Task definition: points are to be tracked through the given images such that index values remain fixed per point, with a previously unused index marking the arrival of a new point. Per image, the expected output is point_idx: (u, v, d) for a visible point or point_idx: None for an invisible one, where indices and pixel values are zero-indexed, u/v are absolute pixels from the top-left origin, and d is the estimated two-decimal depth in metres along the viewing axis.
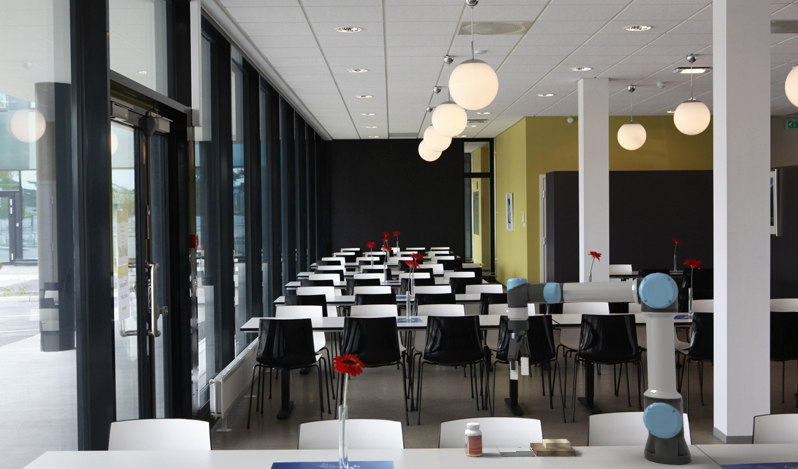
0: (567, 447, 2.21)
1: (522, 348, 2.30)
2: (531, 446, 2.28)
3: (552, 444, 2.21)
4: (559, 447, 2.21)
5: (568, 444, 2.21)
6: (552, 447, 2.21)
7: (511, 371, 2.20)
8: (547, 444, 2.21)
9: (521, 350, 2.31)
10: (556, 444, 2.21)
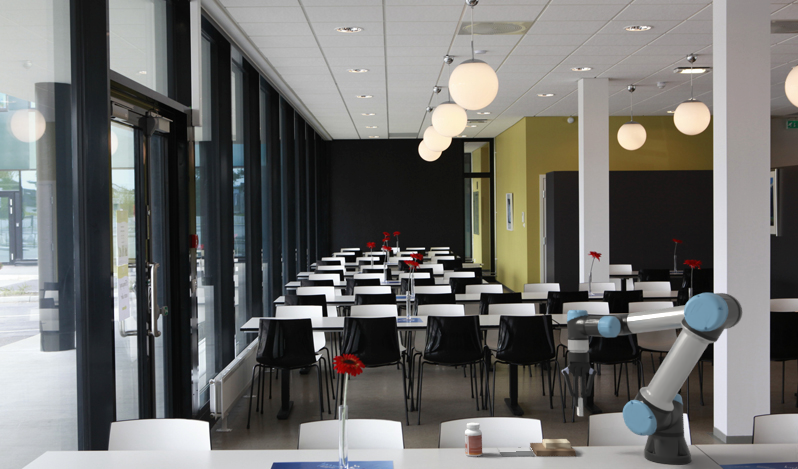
0: (567, 447, 2.21)
1: (581, 383, 2.27)
2: (531, 446, 2.28)
3: (552, 444, 2.21)
4: (559, 447, 2.21)
5: (568, 444, 2.21)
6: (552, 447, 2.21)
7: (577, 407, 2.27)
8: (547, 444, 2.21)
9: (580, 386, 2.27)
10: (556, 444, 2.21)
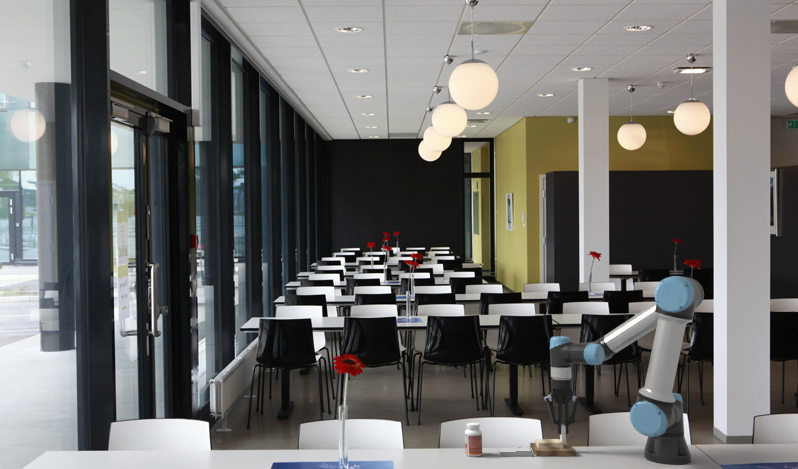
0: (560, 447, 2.21)
1: (564, 411, 2.26)
2: (531, 446, 2.28)
3: (545, 444, 2.21)
4: (552, 447, 2.21)
5: (561, 444, 2.21)
6: (545, 447, 2.21)
7: (560, 435, 2.26)
8: (540, 444, 2.22)
9: (563, 414, 2.26)
10: (549, 444, 2.21)
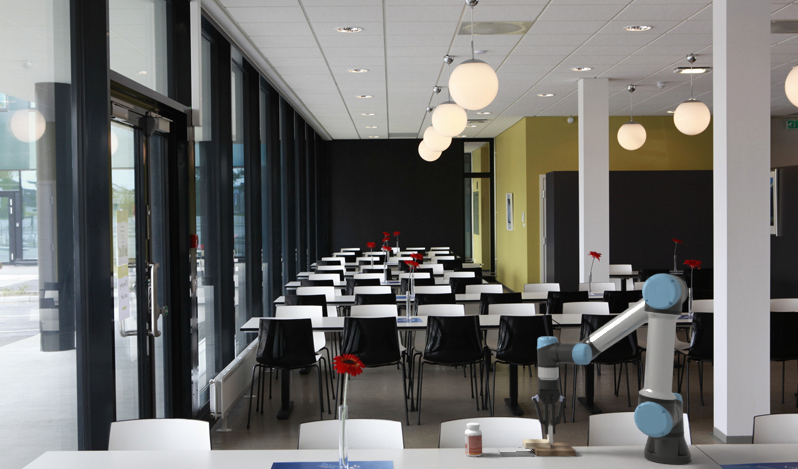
0: (547, 447, 2.21)
1: (551, 411, 2.26)
2: None
3: (532, 444, 2.22)
4: (539, 447, 2.21)
5: (548, 444, 2.21)
6: (532, 447, 2.21)
7: (547, 435, 2.26)
8: (527, 444, 2.22)
9: None
10: (536, 444, 2.21)
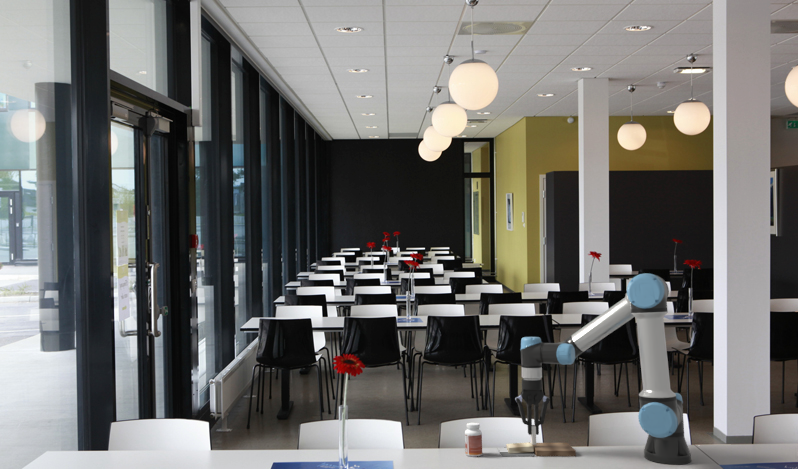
0: (530, 451, 2.21)
1: (534, 411, 2.26)
2: None
3: (515, 449, 2.21)
4: (522, 451, 2.21)
5: (531, 447, 2.21)
6: (515, 452, 2.21)
7: None
8: (510, 449, 2.21)
9: (534, 414, 2.26)
10: (519, 448, 2.21)
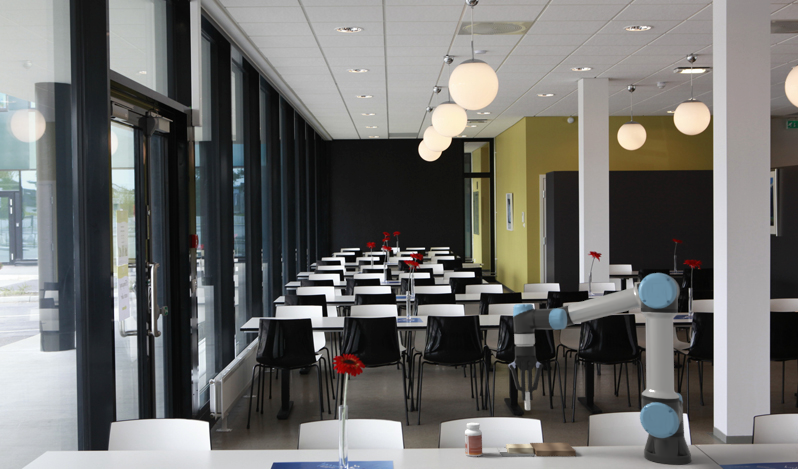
0: (530, 452, 2.21)
1: (528, 377, 2.27)
2: None
3: (515, 449, 2.21)
4: (522, 452, 2.21)
5: (531, 449, 2.21)
6: (515, 452, 2.21)
7: None
8: (510, 449, 2.21)
9: None
10: (519, 449, 2.21)
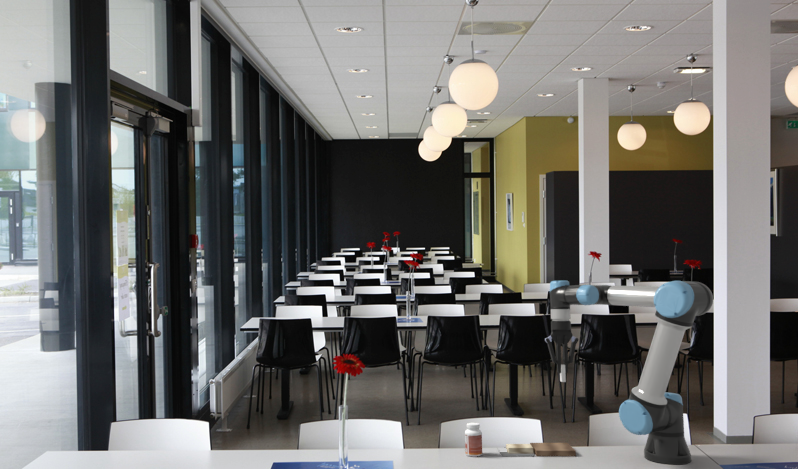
0: (530, 452, 2.21)
1: (563, 351, 2.36)
2: None
3: (515, 449, 2.21)
4: (522, 452, 2.21)
5: (531, 449, 2.21)
6: (515, 452, 2.21)
7: (560, 374, 2.36)
8: (510, 449, 2.21)
9: (563, 354, 2.37)
10: (519, 449, 2.21)
